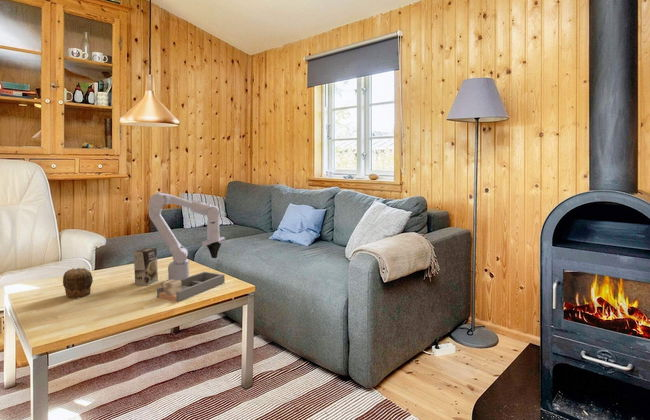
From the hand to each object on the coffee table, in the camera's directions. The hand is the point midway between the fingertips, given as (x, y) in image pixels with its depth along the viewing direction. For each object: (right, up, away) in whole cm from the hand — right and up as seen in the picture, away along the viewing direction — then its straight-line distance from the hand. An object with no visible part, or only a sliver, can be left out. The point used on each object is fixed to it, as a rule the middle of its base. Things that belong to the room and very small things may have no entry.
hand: (214, 257), depth 200 cm
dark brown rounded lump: (-51, -14, -25) cm, 59 cm away
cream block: (-10, -12, -27) cm, 31 cm away
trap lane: (-5, -13, -17) cm, 22 cm away
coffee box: (-30, -11, -6) cm, 33 cm away
